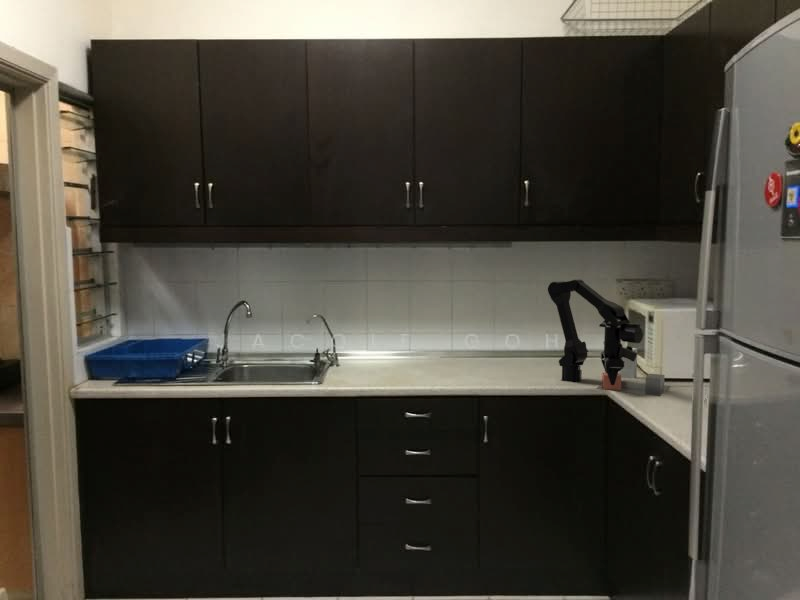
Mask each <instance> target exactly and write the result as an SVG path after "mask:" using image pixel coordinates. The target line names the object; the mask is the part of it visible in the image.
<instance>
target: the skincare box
mask: <svg viewBox="0 0 800 600" xmlns="http://www.w3.org/2000/svg"><path fill="white" fill-rule="evenodd" d="M624 347H625V346H624ZM626 347H627V346H626ZM626 347H625V348H626ZM632 349H633V351H635V352H636V353H637V354H638V348H636V347H632ZM621 359H622V360H623V361H624V367H623V369H621V370H620V371H619V372H618V373H619V374H620V375H621V379H622V378H623V379H636V378H637V377H638V376H637V375H638V374H637V372H638V355H637V356H636V359H635V361H634V362H633V361H631V360H629V359H627V358H624V357H622V358H621Z"/></svg>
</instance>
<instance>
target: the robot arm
mask: <svg viewBox="0 0 800 600" xmlns="http://www.w3.org/2000/svg"><path fill="white" fill-rule="evenodd" d="M571 292H576V293H577V294H578V295H580V296H581V297H582V298H583V300H585V301H587V302H588V303H589V304H591V305H592V306H593V307H594V308H595V309H596V310H597V311H598V314H599V315H600V317H602V318H603V321H602V322H601V323H600V324H599V325H598V326H599V327H600V328H602V327H603V328H604V336H603V337H604V338H603V339H604V341H603V351H602V352H600V359H601V360H600V362H601V364H602V366H603V369H604V373H607V374H608V377H609V380H610V383H611V385H614V384H615V381H616V378H617V374H618V373H619V371H620V370H621V369H623V367H624V361H623V360H622V359H621V358H622V357H624V358H627V359H629V360H631V361H633V362H634V361H635V359H636V356H637V357H638V352H637V353H636V352H635V351H633V349H632V348H633V347H632V346H630V345H627V346H626V348H625V346H623V343H622V342H624V343H625V342H626V343H632V344H640V343H641V342H642V340H643V337H644V332H643V329H642V328H641V324H640V323H632V322H631V321H630V319H629V318H628V316H627V315H626V313H625V309H624V307H623V306H621V305H620V304H618V303H615V302H613V301H611V300H608V299H606V298H604V297H603V295H601V294H599V292H597V291H595V290H594V288H592V287H591V286H589V285H588V284H587V283H585V282H584V280H582V279H573V280H569V281H568V280H567V281H564V280H562V281H561V280H560V281H552V282H550V283H549V284H548V287H547V293H548V296H549V298H550V300H551V301H552V302H553V303H554V305H555V306H556V309H557V313H558V316H559V321H560V323H561V329H562V332H563V336H564V340H565V343H564V347H563V352H564V354H563V355H562V356H561V357H560V358H559V360H558V365H559V366H560V367H561V379H560V382H561V381H562V382H569V383H580V382H581V381H582V377H583V376H582V374H583V373H582V369H581V366H583V365H584V362H585V361H586V359H587V358H588V352H589V350H588V348H587V342H586V341H581V339H580V338H579V337H578V336H579V335H578V331H577V328H576V325H575V323H576V322H575V320H574V316H573V312H572V309H571V304H570V299H571Z"/></svg>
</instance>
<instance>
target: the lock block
mask: <svg viewBox="0 0 800 600" xmlns="http://www.w3.org/2000/svg"><path fill="white" fill-rule="evenodd" d="M601 375H602V376H601V377H602V378H601V384H602V386H603V389H614V390H621V380H622V378H621V375H620V374H619V372H618V374H617V378H616V381H615V384H614V385H611V383H610V380H609V377H608V374H607V373H606V372H602V373H601Z"/></svg>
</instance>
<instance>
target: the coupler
mask: <svg viewBox="0 0 800 600" xmlns="http://www.w3.org/2000/svg"><path fill="white" fill-rule="evenodd" d="M669 387H671V386H670V385H666V384H665V374H659V373H650V372H649V374H648V375H646V376H645V382H643V381H635V380H634V381H632V380H626V379H623V380H622V379H621V390H614V389H603V386H602V383H601V384H599V385H598V386H596V388H595V390H601V391H611V392H617V393H618V392H619V393H626V394H627V393H628V394H636V395H644V396H651V397H661V396H662V395H663V394H664V393H665V392H666V390H669V389H670V388H669ZM668 388H669V389H668Z"/></svg>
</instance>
